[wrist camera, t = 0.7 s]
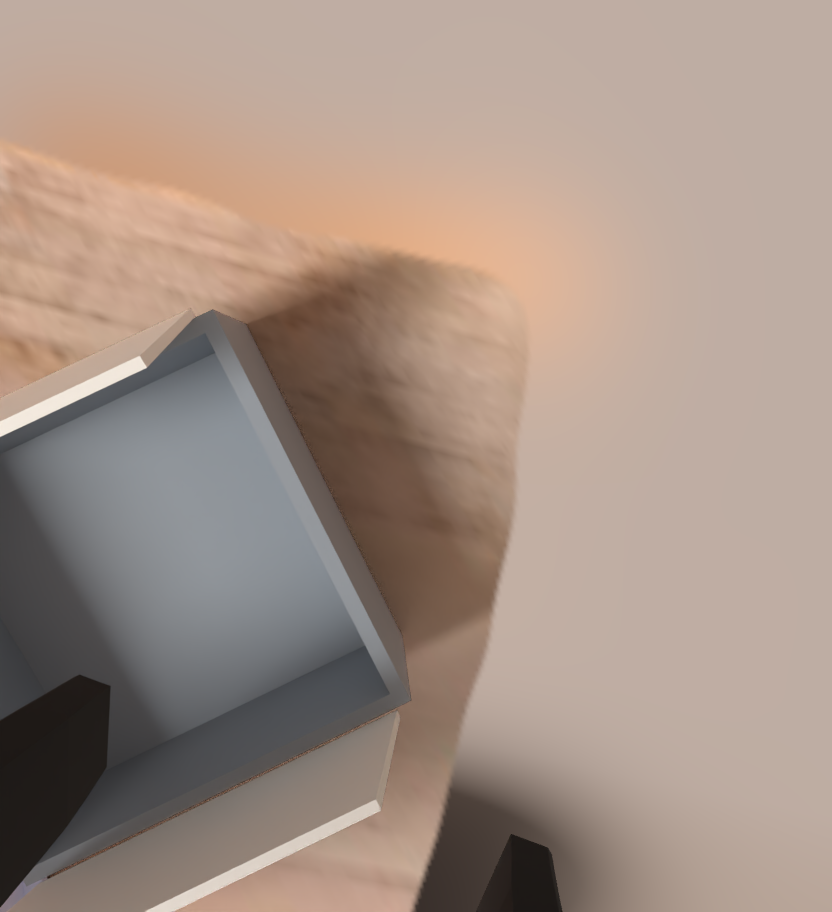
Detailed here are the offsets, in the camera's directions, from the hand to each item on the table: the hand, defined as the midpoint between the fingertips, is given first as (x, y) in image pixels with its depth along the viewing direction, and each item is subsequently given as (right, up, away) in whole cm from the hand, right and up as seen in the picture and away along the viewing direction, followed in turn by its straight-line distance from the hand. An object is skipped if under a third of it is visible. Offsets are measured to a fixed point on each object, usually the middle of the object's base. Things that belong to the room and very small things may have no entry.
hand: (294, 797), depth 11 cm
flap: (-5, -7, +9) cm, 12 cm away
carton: (-9, +1, +18) cm, 20 cm away
